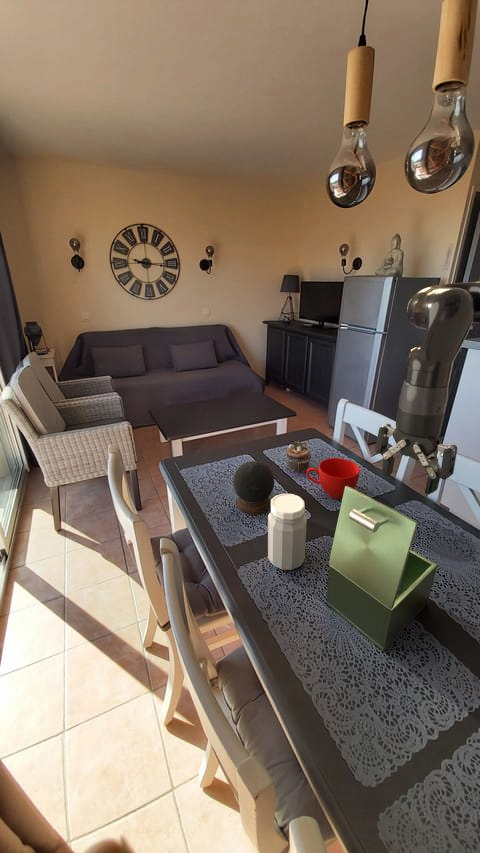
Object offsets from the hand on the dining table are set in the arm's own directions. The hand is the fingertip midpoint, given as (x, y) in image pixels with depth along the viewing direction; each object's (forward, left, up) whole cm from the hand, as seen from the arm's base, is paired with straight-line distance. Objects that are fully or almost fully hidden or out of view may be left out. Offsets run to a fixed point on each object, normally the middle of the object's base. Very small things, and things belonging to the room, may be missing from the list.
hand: (407, 483), depth 71 cm
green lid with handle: (+10, 0, -10) cm, 14 cm away
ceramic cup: (-24, -35, -31) cm, 53 cm away
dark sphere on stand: (0, -47, -31) cm, 57 cm away
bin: (+3, 0, -31) cm, 31 cm away
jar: (+9, -23, -31) cm, 40 cm away
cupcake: (-28, -54, -31) cm, 69 cm away
